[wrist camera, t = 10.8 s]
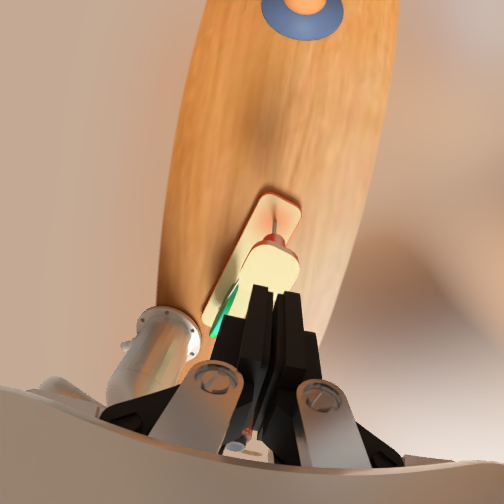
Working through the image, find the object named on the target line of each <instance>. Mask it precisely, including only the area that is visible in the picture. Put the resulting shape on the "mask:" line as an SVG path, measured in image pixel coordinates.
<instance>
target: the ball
mask: <svg viewBox="0 0 504 504" xmlns="http://www.w3.org/2000/svg"><path fill="white" fill-rule="evenodd" d="M284 2H285V4H286V5H287V7H288V8H289V9H290V10H292V11H293V12H295V13H298V14H302V15H311V14H315V13H317V12H319V11H320V10H321V9H322V8H323V7H324V6H325V4H326V0H284Z"/></svg>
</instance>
